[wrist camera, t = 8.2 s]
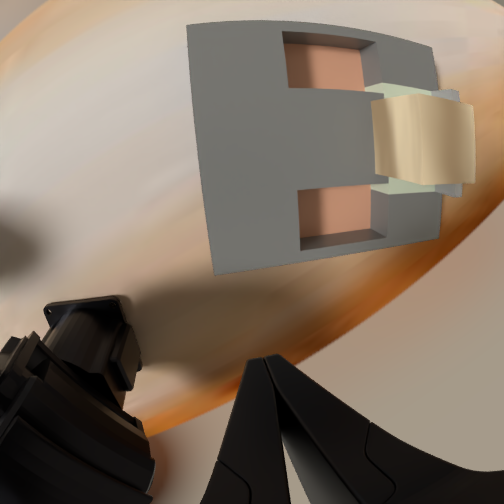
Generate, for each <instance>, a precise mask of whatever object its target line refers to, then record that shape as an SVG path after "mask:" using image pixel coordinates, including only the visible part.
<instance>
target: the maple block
mask: <svg viewBox="0 0 504 504" xmlns="http://www.w3.org/2000/svg"><path fill="white" fill-rule="evenodd" d="M371 109H372V120H373V134H374V150H375V174H378V175H383V176H387V177H392V178H396V179H400V180H405V181H409V182H413V183H417V184H420V185H436V184H465V183H475V172H476V150H475V126H474V112H473V105H469V104H465V103H461V102H457V101H453V100H449V99H444V98H440V97H435V96H430V95H425V94H419V93H417V94H410V95H403V96H397V97H391V98H385V99H380V100H374V101H371Z"/></svg>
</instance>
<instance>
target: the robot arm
mask: <svg viewBox="0 0 504 504" xmlns="http://www.w3.org/2000/svg"><path fill="white" fill-rule="evenodd" d="M111 302H113V303H115V305H116V306H113V305H111ZM48 309H49V310H50V311H51V312H52V313H51V312H49V310H48ZM43 311H44V314H45V317H46V319H47V321H48V324H49V326H50V329H49V330H48V332H47V333H46V335H45V336H44V338H43V339H42V341H41V340H40V337H39V336H38V335H37V334H36V332H35V331H33V332H32V333H31V334H30V335H29V336H28V337H26V336H25V337H24V338H21V339H20V338H16V337H13V336H12V337H11V338H10V339H9V340H8V342H7V343H6V344H5V346H4V347H3V348H2V350H1V351H0V504H150V503H151V502H152V500H153V497H152V496H151V495H149V494H147V492H148V491H149V489H150V487H151V485H152V482H153V477H154V471H155V460H154V458H152V457H151V455H150V447H149V441H148V439H147V438H146V436H145V433H144V429H143V425H142V422H141V421H140V420H139V419H137V418H136V417H132V416H130V415H129V414H127V413H126V412H125V411H123V405H124V400H125V395H126V391H132V389H133V387H134V382H135V377H136V372H138V371H140V370H141V369H142V362H141V359H140V353H141V352H140V349H139V346H138V343H137V341H136V338H135V335H134V332H133V329H132V326H131V325H130V324H129V323H127V321H126V318H125V315H124V312H123V309H122V306H121V303H120V301H119V299H118V298H116V297H114V296H111V297H103V298H94V299H86V300H78V301H69V302H60V303H51V304H47V305H46V306H45V307H44V310H43ZM282 441H283V443H284V446H285V448H286V450H287V453H288V455H289V457H290V459H291V462H292V464H293V466H294V468H295V471H296V473H297V475H298V477H299V480H300V482H301V484H302V486H303V488H304V491H305V493H306V495H307V497H308V499H309V501H310V503H311V504H504V470H502V471H490V472H483V471H473V470H469V469H465V468H462V467H459V466H457V465H454V464H452V463H449V462H447V461H444V460H442V459H440V458H437V457H435V456H433V455H431V454H428V453H426V452H424V451H422V450H419V449H417V448H415V447H413V446H411V445H409V444H407V443H405V442H403V441H402V440H400V439H398V438H396V437H395V436H393V435H391V434H390V433H388V432H386V431H385V430H383V429H382V428H380V427H379V426H377V425H376V424H374V423H373V422H371V423H370V420H368V419H367V418H365V417H364V416H362V415H361V414H359V413H358V412H357V411H355V410H354V409H352V408H351V407H350V406H348V405H347V404H345V403H344V402H342V401H341V400H340V399H338V398H337V397H335V396H334V395H333V394H331V393H330V392H328V391H327V390H326V389H325V388H323V387H322V386H320V385H319V384H318V383H316V382H315V381H314V380H312V379H311V378H310V377H308V376H307V375H306V374H304V373H303V372H302V371H300V370H299V369H298V368H296V367H295V366H294V365H293V364H291V363H290V362H289V361H287V360H286V359H285V358H283V357H282V356H281V355H279V354H273V355H268V356H265V357H264V358H262V357H258V358H253V359H248V360H247V362H246V365H245V368H244V372H243V375H242V378H241V382H240V385H239V389H238V392H237V395H236V399H235V402H234V406H233V409H232V412H231V415H230V419H229V422H228V425H227V428H226V432H225V435H224V438H223V442H222V445H221V448H220V451H219V455H218V457H217V460H218V461H216V463H215V467H214V469H213V473H212V475H211V478H210V481H209V483H208V486H207V489H206V491H205V494H204V496H203V498H202V500H201V502H200V504H291V501H290V493H289V487H288V479H287V472H286V465H285V458H284V451H283V443H282Z"/></svg>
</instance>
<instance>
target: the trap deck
mask: <svg viewBox="0 0 504 504" xmlns="http://www.w3.org/2000/svg"><path fill="white" fill-rule="evenodd" d="M186 28H187V43H188V57H189V70H190V82H191V93H192V104H193V114H194V124H195V133H196V143H197V151H198V160H199V169H200V177H201V185H202V193H203V200H204V208H205V215H206V222H207V230H208V237H209V243H210V250H211V257H212V263H213V270H214V276H216V275H222V274H229V273H236V272H242V271H249V270H255V269H262V268H268V267H275V266H281V265H287V264H293V263H300V262H306V261H312V260H318V259H324V258H330V257H336V256H342V255H348V254H354V253H360V252H366V251H371V250H377V249H383V248H389V247H394V246H400V245H406V244H411V243H417V242H422V241H428V240H433V239H438V238H439V232H440V221H441V208H442V194H445V195H448V196H452V197H462V184H436V185H420V184H417V183H413V182H409V181H405V180H400V179H396V178H392V177H387V176H383V175H378V174H375V150H374V134H373V120H372V109H371V101H374V100H380V99H385V98H391V97H397V96H403V95H410V94H417V93H419V94H425V95H430V96H435V97H440V98H444V99H449V100H453V101H457V102H460V98H459V91H456V90H452V89H447V90H438V83H437V75H436V69H435V63H434V57H433V52H432V47H429V46H425V45H422V44H419V43H416V42H412V41H409V40H405V39H401V38H397V37H393V36H389V35H385V34H380V33H376V32H371V31H366V30H360V29H355V28H349V27H342V26H335V25H327V24H318V23H308V22H294V21H268V20H250V21H224V22H210V23H200V24H191V25H186Z"/></svg>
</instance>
